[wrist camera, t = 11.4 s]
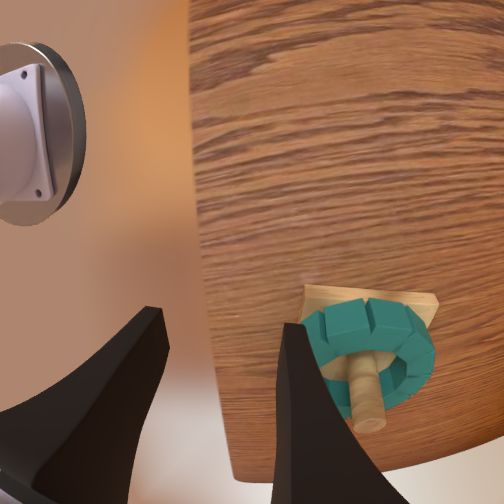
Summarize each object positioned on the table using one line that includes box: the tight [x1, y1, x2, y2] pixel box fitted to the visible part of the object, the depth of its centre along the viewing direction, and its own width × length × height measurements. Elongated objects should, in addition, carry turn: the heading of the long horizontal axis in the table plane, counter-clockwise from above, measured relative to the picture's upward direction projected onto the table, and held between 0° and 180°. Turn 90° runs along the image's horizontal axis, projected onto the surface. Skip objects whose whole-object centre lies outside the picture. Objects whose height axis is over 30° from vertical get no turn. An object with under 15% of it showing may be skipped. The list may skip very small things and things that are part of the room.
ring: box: [299, 297, 435, 419], centre depth 19 cm, size 10×10×2 cm
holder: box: [297, 284, 439, 433], centre depth 18 cm, size 9×9×7 cm
